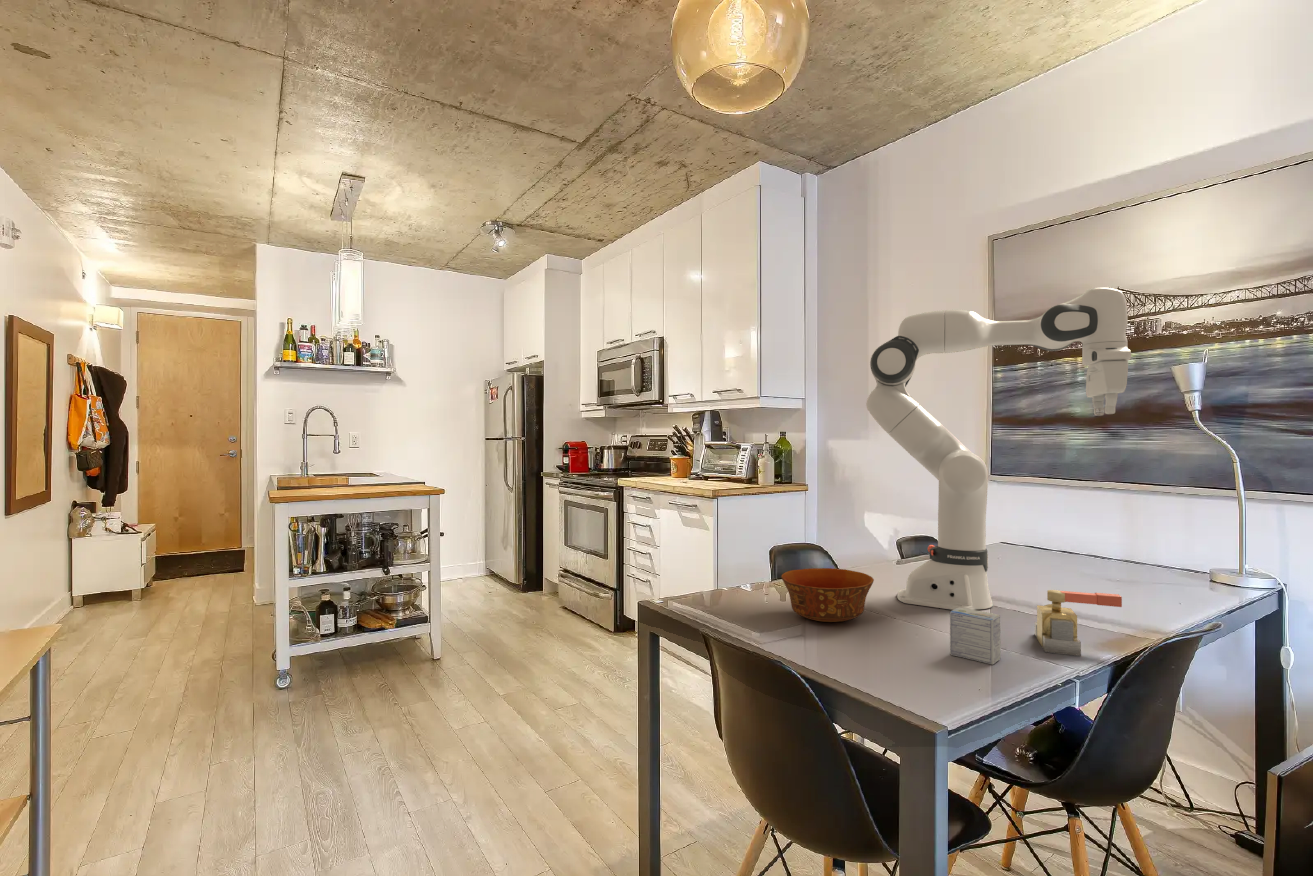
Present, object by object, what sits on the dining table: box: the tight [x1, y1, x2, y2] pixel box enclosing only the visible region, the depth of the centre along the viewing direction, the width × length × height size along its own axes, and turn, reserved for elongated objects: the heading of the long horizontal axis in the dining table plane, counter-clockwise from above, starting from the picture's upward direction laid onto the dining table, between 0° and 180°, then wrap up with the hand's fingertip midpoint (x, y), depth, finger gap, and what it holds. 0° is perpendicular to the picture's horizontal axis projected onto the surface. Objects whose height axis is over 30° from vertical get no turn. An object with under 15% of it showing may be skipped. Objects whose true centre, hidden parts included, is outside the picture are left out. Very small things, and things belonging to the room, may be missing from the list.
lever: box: [1046, 589, 1123, 608], centre depth 127 cm, size 12×3×2 cm, turn 67°
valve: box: [1034, 601, 1082, 657], centre depth 129 cm, size 12×6×9 cm, turn 157°
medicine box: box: [949, 608, 1002, 665], centre depth 122 cm, size 8×4×9 cm, turn 44°
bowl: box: [780, 567, 875, 623], centre depth 148 cm, size 21×21×10 cm
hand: (1104, 414), depth 150 cm, fingers open, 8 cm apart
